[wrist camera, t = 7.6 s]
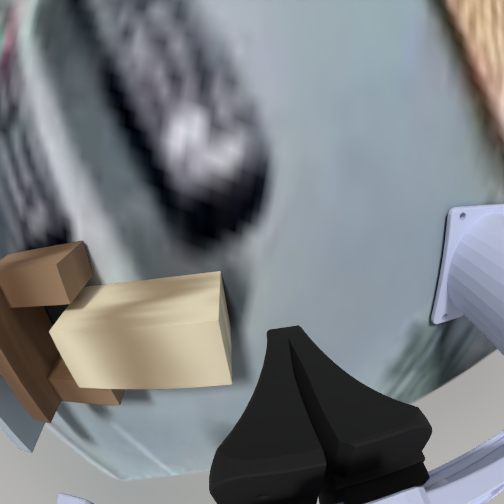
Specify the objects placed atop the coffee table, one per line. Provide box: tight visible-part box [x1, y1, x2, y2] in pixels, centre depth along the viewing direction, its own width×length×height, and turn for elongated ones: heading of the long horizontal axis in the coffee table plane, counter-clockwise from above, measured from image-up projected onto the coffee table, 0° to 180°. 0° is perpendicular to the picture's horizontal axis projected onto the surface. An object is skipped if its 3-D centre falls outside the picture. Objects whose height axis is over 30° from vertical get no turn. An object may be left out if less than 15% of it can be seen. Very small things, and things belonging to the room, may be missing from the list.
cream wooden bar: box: [49, 271, 232, 389], centre depth 14 cm, size 8×4×4 cm, turn 96°
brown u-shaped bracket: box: [0, 241, 125, 423], centre depth 13 cm, size 6×9×5 cm, turn 6°
